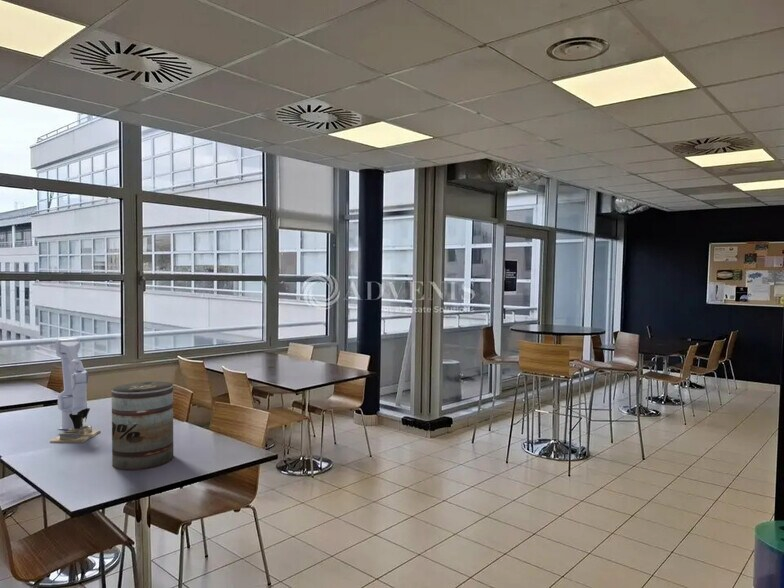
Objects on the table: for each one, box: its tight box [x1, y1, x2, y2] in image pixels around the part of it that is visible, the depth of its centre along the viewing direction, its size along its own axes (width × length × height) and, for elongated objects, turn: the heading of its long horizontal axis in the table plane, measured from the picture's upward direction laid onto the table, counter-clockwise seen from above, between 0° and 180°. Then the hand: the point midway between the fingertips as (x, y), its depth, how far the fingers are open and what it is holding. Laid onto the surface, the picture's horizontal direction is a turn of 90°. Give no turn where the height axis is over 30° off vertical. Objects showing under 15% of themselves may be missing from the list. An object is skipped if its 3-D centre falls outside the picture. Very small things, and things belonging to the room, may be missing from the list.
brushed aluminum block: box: [73, 417, 87, 430], centre depth 252 cm, size 4×4×7 cm
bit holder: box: [49, 425, 101, 444], centre depth 249 cm, size 16×14×4 cm
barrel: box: [111, 380, 174, 471], centre depth 217 cm, size 22×22×30 cm
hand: (80, 426), depth 252 cm, fingers open, 7 cm apart
